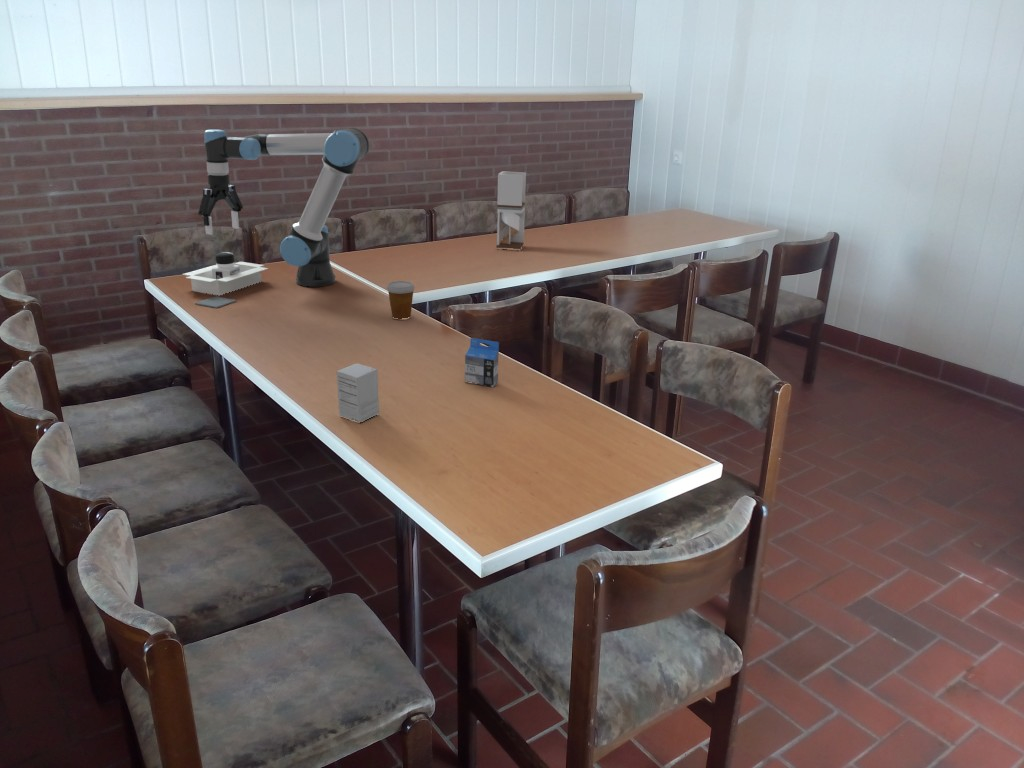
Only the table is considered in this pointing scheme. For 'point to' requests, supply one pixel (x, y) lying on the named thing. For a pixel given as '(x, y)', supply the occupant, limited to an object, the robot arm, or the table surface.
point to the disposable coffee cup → (401, 298)
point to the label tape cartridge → (482, 362)
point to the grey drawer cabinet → (358, 392)
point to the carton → (225, 279)
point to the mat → (215, 302)
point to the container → (224, 266)
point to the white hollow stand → (511, 209)
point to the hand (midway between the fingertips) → (222, 231)
